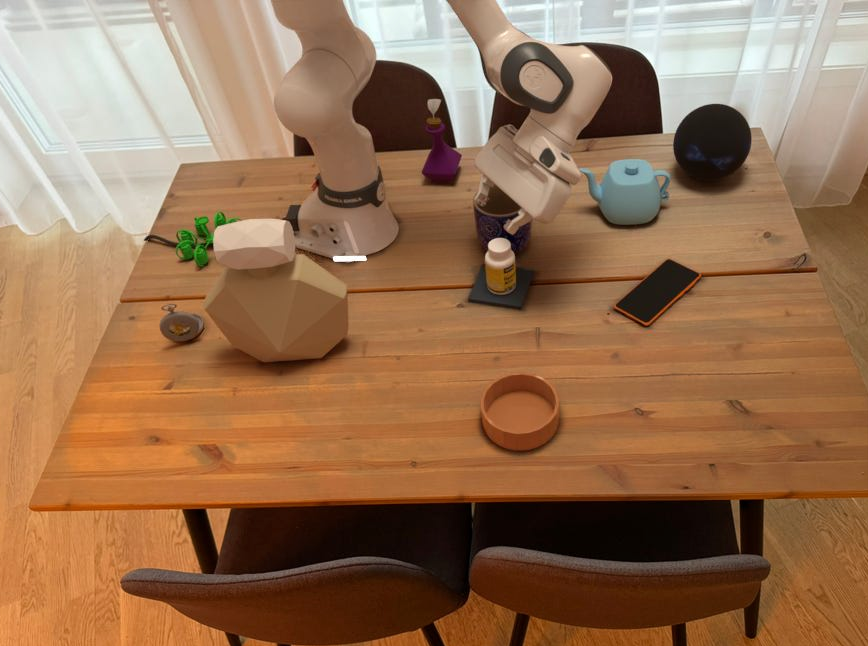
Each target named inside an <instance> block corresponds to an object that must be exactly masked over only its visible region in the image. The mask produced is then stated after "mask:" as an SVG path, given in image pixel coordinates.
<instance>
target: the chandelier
mask: <svg viewBox="0 0 868 646" xmlns="http://www.w3.org/2000/svg"><path fill="white" fill-rule="evenodd" d="M237 220H238V221H243V220H242V219H241V218H240V217H231V218H230V219H228V220H227V218H226V216H225V213H224V212H223V211H217V212H216V213H215V215H214V217H213V224H214V228H215V229H214V231H215V230H216V228H217V227H218V226H222V225H226V224H230V223H234V222H238V221H237ZM209 221H210V219H209V217H208V216H207V215H206V216H204V215H203V216H200V217H198V216H195V217H194V221H193V223H194V228H195V230H196V232H197V234H198V235H200V236H204V237H198V236H196V235H197V234H195V233H194V232H192V231H191V230H189V229H186V228H181V229H178V230H177V232H176V234H175V237H176V239H177V241H178V243H179V244H178V245H177V246H175V255H176V256H177V257H178V258H179V259H180V260H183V261H187V260H190V259H193V258H194V262H195V264H196V266H197V267H204V266H205V265H206V264H207V263H208V262H209V257H208V250H207V248H208V247H209V246H208V244H209V243H213V238H214V232H213V233H212V234H210V231H209V229H208V227H207V224H209ZM198 240H204V241H201V242H199V243H198ZM202 243H207V245H206V246H205V247H204V246H203V245H200V244H202ZM192 244H194V245H195V247H194V250H193V247H191V246H190V245H192ZM196 244H197V245H196ZM200 246H201V247H200ZM179 249H180V252H181V254H182V256H183V257H182V256H180V255H179V252H178V250H179Z"/></svg>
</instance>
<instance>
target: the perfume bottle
mask: <svg viewBox="0 0 868 646" xmlns="http://www.w3.org/2000/svg"><path fill="white" fill-rule="evenodd" d="M441 103H442V99H439V98H430V99H427V108H428V110H429V111H430V113H431V114H432V116H430V117H428V118H427V119H426V123H427V124H426V125H425V132H426V133H427V134H429V135H431V136H432V141H433V146H432V148H431V150H430V151H429V153H428V155H427V158H426V160H425V163H424V165H423V168H422V170H421V175H423V176H424V177H426V178H427V179H429V180H430V181H431V182H435V183H436V182H437V183H451V182H452V180H453V179H454V178H455V176H456V173H457V171H458V169H459V165H460V162H461V160H462V157H463V154H462V153H460V152H458V151H457V150H456V149H454V148H452V147H451V146H450V145H448V144H447V143H446V142H445V141H444V138H443V136H442V133H443V132H444V131H445V129H446V128H445V127H446V125H445V124H444V123H443V122H442V119H440V118H439V117H438V116H435V114H436V113H437V112H438V110H439V108H440V105H441Z"/></svg>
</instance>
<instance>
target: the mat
mask: <svg viewBox="0 0 868 646" xmlns="http://www.w3.org/2000/svg"><path fill="white" fill-rule="evenodd" d="M515 268H516V286H515V288H514V290H513V291H512V292H510V293H508V294H505V295H497V294H494V293H492V292H490V291H489V289H488V287H487V280H486V266H485V262H484V263H482V265H481V267H480V270H479V272H478V274H477V277H476V279H475V282H474V283H473V286H472V288H471V291H470V294H469V296H468V298H467V301H468V302H469V303H475V304H480V305H481V304H482V305H488V306H493V307H494V306H496V307H500V308H501V307H502V308H509V309H515V310H522V308H523V305H524V302H525V300H526V297H527V294H528V292H529V288H530V286H531V284H532V280H533V277H534V274H535V269H529V268H521V267H515Z"/></svg>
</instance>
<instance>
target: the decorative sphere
mask: <svg viewBox="0 0 868 646" xmlns="http://www.w3.org/2000/svg"><path fill="white" fill-rule="evenodd" d="M752 140H753V138H752V130H751V126H750V124H749V122H748V120H747V119H746V117H745V116H744V115H743V114H742V113H741V112H740V111H739V110H737V109H736V108H735V107H732V106H730V105H728V104H723V103H708V104H704V105H701V106H699V107H697V108H695V109H693V110H691V111H690V112H689V113H688V114H686V115H685V116H684V118H683V119H682V120H681V121H680V123H679V125H678V126H677V128H676V130H675V133H674V135H673V141H672V142H673V144H672V149H673V156H674V158H675V161H676V162H677V165H678V166H679V168H680V169H681V170H682V172H684V173H685V174H686V175H687V176H689V177H690V178H693V179H695V180H699V181H702V182H715V181H720V180H724V179H727V178H728V177H730V176H731V175H733V174H735V173H736V172H737V171H738V170H739V169H740V168H741V167H742V166H743V164H745V162H746V160H747V158H748V156H749V154H750V151H751V147H752V142H753V141H752Z"/></svg>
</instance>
